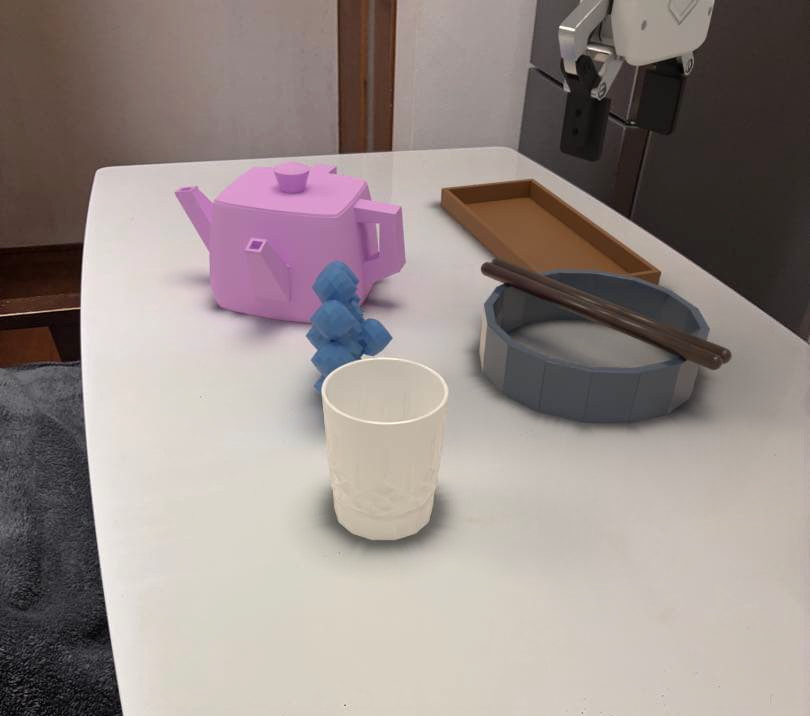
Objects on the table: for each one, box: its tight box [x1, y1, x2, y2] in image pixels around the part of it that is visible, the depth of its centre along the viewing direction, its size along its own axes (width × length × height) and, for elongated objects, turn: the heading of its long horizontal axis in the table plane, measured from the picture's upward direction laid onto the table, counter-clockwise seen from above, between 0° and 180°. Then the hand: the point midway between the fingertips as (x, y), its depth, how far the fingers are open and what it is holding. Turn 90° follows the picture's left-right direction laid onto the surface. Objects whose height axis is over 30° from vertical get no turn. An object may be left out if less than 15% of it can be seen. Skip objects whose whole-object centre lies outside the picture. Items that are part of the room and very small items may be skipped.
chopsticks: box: [480, 257, 733, 371], centre depth 72 cm, size 3×24×1 cm, turn 46°
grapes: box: [305, 261, 393, 397], centre depth 66 cm, size 12×7×12 cm, turn 0°
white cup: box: [321, 356, 450, 541], centre depth 56 cm, size 8×8×10 cm
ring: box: [478, 269, 711, 424], centre depth 74 cm, size 19×19×5 cm
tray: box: [440, 178, 662, 286], centre depth 94 cm, size 28×12×2 cm, turn 21°
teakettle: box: [174, 161, 407, 324], centre depth 81 cm, size 17×17×12 cm
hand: (618, 143), depth 63 cm, fingers open, 9 cm apart
